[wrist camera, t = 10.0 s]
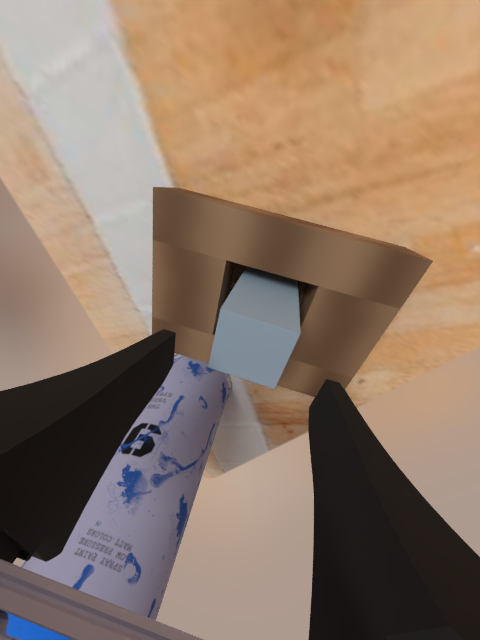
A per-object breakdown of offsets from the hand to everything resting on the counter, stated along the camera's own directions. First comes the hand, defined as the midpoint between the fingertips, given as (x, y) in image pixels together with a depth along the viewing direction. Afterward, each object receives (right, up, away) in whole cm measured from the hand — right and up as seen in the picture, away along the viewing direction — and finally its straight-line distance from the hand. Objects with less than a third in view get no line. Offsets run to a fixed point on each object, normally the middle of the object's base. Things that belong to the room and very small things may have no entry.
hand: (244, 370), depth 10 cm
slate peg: (+2, +5, +8) cm, 9 cm away
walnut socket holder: (+2, +5, +8) cm, 9 cm away
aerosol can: (-5, -4, +15) cm, 16 cm away
